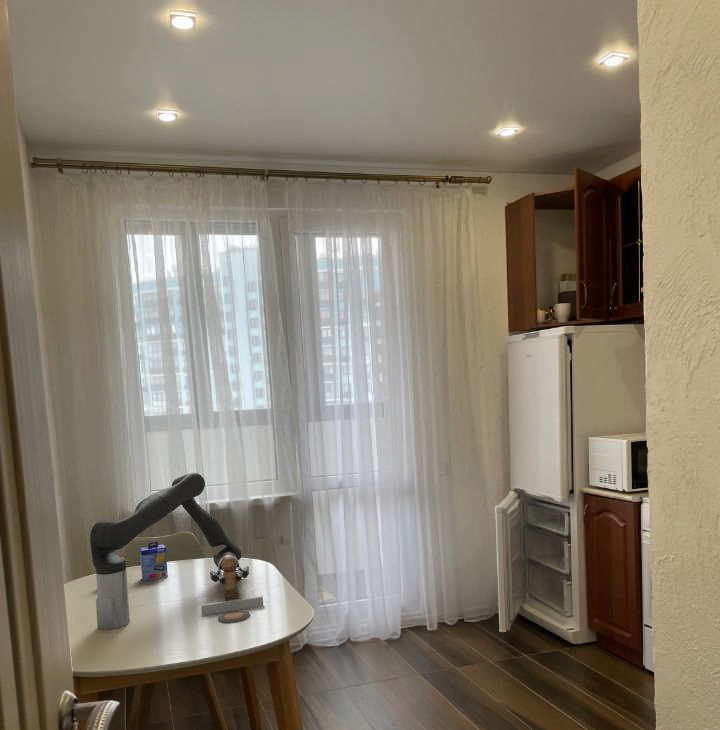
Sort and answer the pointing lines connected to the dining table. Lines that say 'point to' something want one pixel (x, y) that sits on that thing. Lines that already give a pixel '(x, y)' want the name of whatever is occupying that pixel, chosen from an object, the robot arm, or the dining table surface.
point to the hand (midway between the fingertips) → (230, 580)
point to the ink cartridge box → (153, 561)
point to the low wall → (232, 605)
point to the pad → (233, 616)
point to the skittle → (230, 578)
